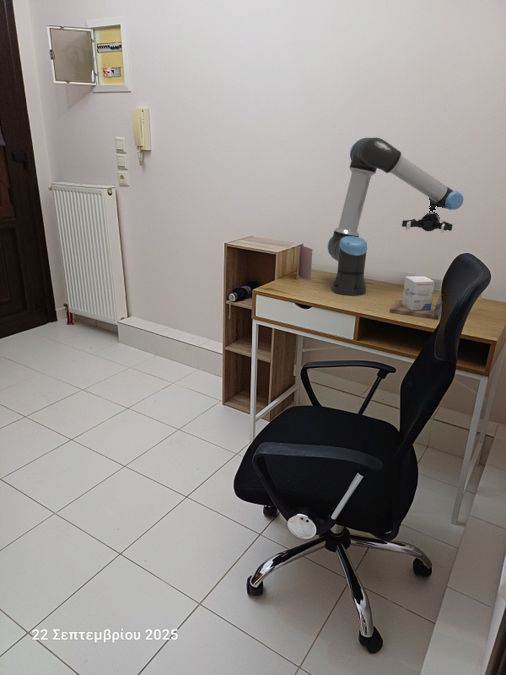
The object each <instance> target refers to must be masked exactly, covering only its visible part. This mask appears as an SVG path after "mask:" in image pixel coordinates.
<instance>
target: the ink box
mask: <svg viewBox="0 0 506 675" xmlns="http://www.w3.org/2000/svg"><path fill="white" fill-rule="evenodd" d="M404 278H405V279H404V283H403V291H402V292H403V293H402V300H401V301H402V305H403V306H405V307H406V308H408V309H409V310H411V311H413V310H431V305H433V298H434V290H435V283H436V282H435V280H432V279H431V278H429V277H427V276H425V275H422V276H419V275H418V276H417V275H416V276H411V275H410V276H409V275H408V276H407V275H406V276H405V277H404Z"/></svg>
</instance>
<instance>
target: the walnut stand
mask: <svg viewBox="0 0 506 675" xmlns="http://www.w3.org/2000/svg"><path fill="white" fill-rule="evenodd" d="M441 295H442V294H439V295H438V298H437V299H436V300H437V301H436V303H435V304H431V310H413V311H411V310H409V309H408V308H406V307H405V306H403V305H402V300H399V299H395V300H394V302H393V304H392V305H391V307H390V308H389V313H390V314H391V313H392V314H398V315H406V316H412V317H418V318H419V317H420V318H425V319H431V320H439V317H440V315H441V311H442V307H441Z"/></svg>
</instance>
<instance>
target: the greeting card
mask: <svg viewBox="0 0 506 675" xmlns="http://www.w3.org/2000/svg"><path fill="white" fill-rule="evenodd" d="M296 262H297V263H296V272H295V274H296V279H298V278H299V276H300V277H302V276H303V278H305V279H306V280H309V281H311V280H312V279H311V278H312V277H311V276H312V264H313V249H312V248H310V247H307V246H305V245H300V246H299V247H298V250H297V261H296Z"/></svg>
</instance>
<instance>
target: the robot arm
mask: <svg viewBox="0 0 506 675" xmlns="http://www.w3.org/2000/svg"><path fill="white" fill-rule="evenodd" d="M349 158H350V165H349V170H350V172H351V176H350V178H349V183H348V187H347V191H346V194H345V199H344V204H343V206H342V212H341V215H340V220H339V223H338V226H337V228H335V229H334V230H333V234H332V236H331V237H330V239H329V240H328V243H327V251H328V254H329V255H330V256H331V258H332V259H334V260H335V261H337V262H338V263H337V273H336V276H335V278H334V280H333V282H332V286H331V291H332V292H333V293H336V294H339V295H345V296H362V295H365V294H366V293H367V284H366V280H365V269H366V268H365V267H366V259H367V250H368V242H367V241H366V239H364V238H362V237H360V234H359V231H358V227H359V224H360V220H361V216H362V212H363V209H364V205H365V201H366V198H367V194H368V190H369V187H370V186H369V185H370V182H371V177H373V175H375V174H376V172H377V169H378V170H379V171H380V170H381V171H382V172H384V173H386V174H389V173H390V174H392V175H393V176H395V177H396V178H398V179H399V180H401V181H403V182H404V183H406V184H407V185H408V186H411V187H412V188H413V189H415V190H417V191H419V192H420V193H421V194H423V195H424V196H426V197H427V196H428V197H429V200H430V206H431V207H430V206H429V207H430V208H429V209H430V211H432V212H430V211H429V213H427V214H426V215H425V214H424V215H425V216H424V215H423V216H422V217H421V218H420V219H418V220H417V219H415V218H414V219H407V220H406V219H405V220H404V219H403V220H402V221H401V222H402V223H401V227H402V228H405V230H406V231H409V230H410V228H418V229H419V228H420V229H422V230H423V231H425V232H433V231H434V230H440V233H444V231H450V232H451V231H452V230H453V225H454V224H452V223H450V222H447V221H441V223H440V217H439V215H438V214H437V213H435V212H433V210H436V209H435V207H436V206H437V207H442V208H443V209H447V210H450V211H451V210H454V211H455V210H458V209H459V208H461V207H462V205H463V203H464V196H463V194H462V193H461V192H459V191H457V190H454V189H451V187H449V186H447V185H446V184H444V183H442V182H441V181H439V180H438V179H437V178H435V177H434V176H432V175H430V174H429V173H428V172H427V171H425V170H423V169H422V168H420V167H419V166H417V165H416V164H415V163H413V162H411V161H410V160H409V159H407V158H406V157H405V156H403V154H402V151H400V150H398V149H397V148H395V146H393V145H392V144H390V143H389V142H388V141H386V140H384V139H383V138H381V137H362V138H360V139H358V140H356V142H354V143H353V144H352V146H351V148H350V151H349Z"/></svg>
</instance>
